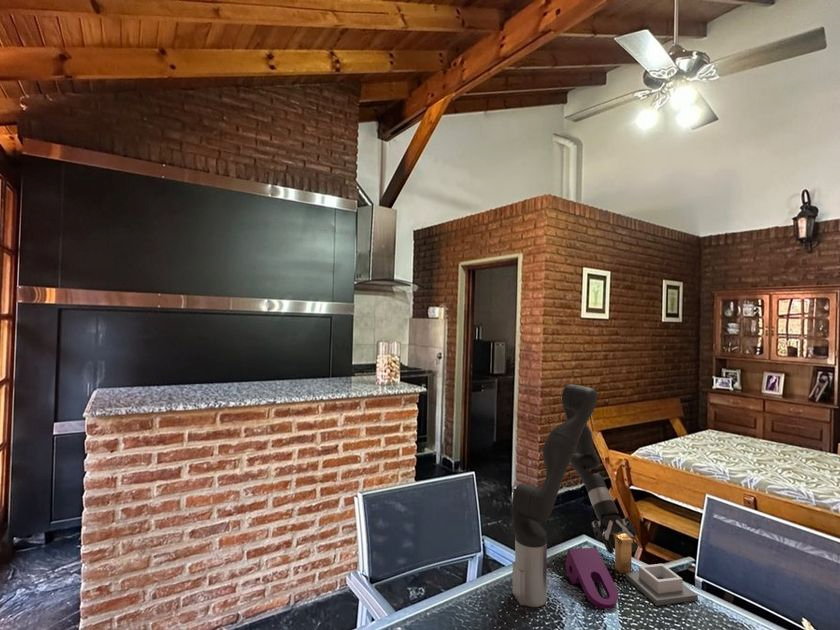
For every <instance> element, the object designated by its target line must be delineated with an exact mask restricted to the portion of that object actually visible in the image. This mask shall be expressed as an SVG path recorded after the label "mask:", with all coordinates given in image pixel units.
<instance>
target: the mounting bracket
mask: <svg viewBox="0 0 840 630" xmlns="http://www.w3.org/2000/svg"><path fill="white" fill-rule="evenodd" d="M565 570H566V575H567V577H568V580H570V582H571V583H572V584H574V585H576V584H577V585H578V584H580V585H581V587H582V591H583V593H584V594H585V597H586V598H587V600H588V601H590V603H591V604H593V605H594V606H595V607H597V608H599V609H605V610H606V609H607V610H608V609H609V610H610V609H613V608H614V607H615V606H616V605H617V603H618V600H619V594H620V593H619V591H618V588H617V586H616V583H615V582H614V579H613V578H612V576H611V574H610V572H609V570H608V568H607V566H606V563H605V562H604V560H603V559H602V556H601V554H600V551H598V548H597V547H581V548H579V547H578V548H568V549H567V554H566V558H565ZM595 583H600V585H601V587H602V589H603V591H604V594H605V596H606V597H607V598H603V597H602V596H601V595H600V592H599V591H598V588H597V587H596V585H595Z"/></svg>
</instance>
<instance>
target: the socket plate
mask: <svg viewBox="0 0 840 630" xmlns="http://www.w3.org/2000/svg"><path fill="white" fill-rule="evenodd" d="M625 579H626V580H628V581H629V582H630V583H631V584H632V585H633V586H634V588H637V590H639V591H640V592H641V593H642V594H644V596H645V597H647V599H649V600H650V601H651V602H652V603H653V604H654V605H656V606H663V605H671V604H678V603H686V602H693V601H694V602H695V601H699V597H698V596H699V595H698V594H697V593H696V592H694V591H693V590H692V589H690V588H689V587H688V586H686V585H685V584H684V583H683V578H682V577H681V576H679V575H678V574H677V573H676V572H674V571H672V570H671V569H670V568H669V567H667V566H666V565H665V564H664V563H657V564H656V563H655V564H647V565H638V571H634V572H632V571H631V572H629V573H625Z"/></svg>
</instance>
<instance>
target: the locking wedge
mask: <svg viewBox="0 0 840 630" xmlns="http://www.w3.org/2000/svg"><path fill="white" fill-rule="evenodd" d="M613 538H614V570H616V571H617V572H618V573H620V574H626V573H631V572H632V550H631V543H633V539H632V538H630V537H629V536H628V535H626V534H625V533H617V534H616V533H613Z"/></svg>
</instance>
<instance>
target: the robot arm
mask: <svg viewBox="0 0 840 630" xmlns="http://www.w3.org/2000/svg"><path fill="white" fill-rule="evenodd" d="M597 403H598V393H597V391H596V390H595V389H594V388H592V387H587V386H583V385H578V384H572V383H571V384H570V383H568V384H566V385H565V386H564V388H563V390H562V393H561V404H562V408H563V410H564V413H565V417H566V421H563V422H562V423H560V424H559V425H557V426H555V427H554V428H553V429H552V430H551V431H550V432H549V433H548V436H547V437H546V440H545V441H544V444H543V446H542V459H543V462H544V463H543V464H544V467H545V474H546V475H545V479H544V482H543V485H542V487H537V486H535V485H531V484H528V483H519V484H518V485H516V487H515V489H514V490H513V494H512V507H511V508H512V524H513V525H512V526H513V532H514V536H515V537H514V539H515V541H514V543H515V545H514V546H515V547H514V548H515V549H514V551H515V552H514V554H515V555H514V557H515V558H514V560H515V561H513V562H512V594H513V596H514V598H515V599H516V600H517V602H518V604H519V605H520V606H527V607H532V608H537V607H538V608H539V607H542V606H543V605H546V603H547V599H548V598H547V597H548V596H547V595H548V592H547V589H548V587H547V581H548V579H547V568H548V567H547V566H548V563H547V561H548V560H547V555H548V554H547V552H548V549H547V548H548V547H547V545H548V544H547V542H548V539H547V537H548V535H547V532H546V530H545V529H544V528H543V527H542V526H541V525H540V524H539V523H544V522H546V521H547V520H548V519H549V518H550V516H551V514H552V511H553V508H554V506H555V504H556V500H557V497H558V494H559V491H560V487H561V485H562V481H563V479H564V476H565V474H566V472H567V470H568V466H569V465H571V467H572V468H573V470H574V471H575V472H576V474H577V475H578V476H579V478H580V479H581V481H582V483H583V485H584V487H585V489H586V491H587V493H588V494H587V495H588V497H589V501H590V503H591V505H592V508H593V511H594V513H595V515H596V518H597V519H594V521H592V522H591V527H592V529H593V530H592V531H593V533H594V535H595V539H596V540H597V541H598V542H600V541H601V542H602V543H603V544H604V546H605V549H606V552H607V553H608V554H609V555H612V554H615V549H614V547H613V545H612V543H611V540H610V535H614V534H620V533H625V534H626V535H628V536H629V537H630V538H632V539H633V543H631V552H636V551H637V549H638V546H637V543H636V541H635V539H634V538H635V537H637V535H638V532H637V530H636V528H635V527H634V525H633V522H632V520H631V519H630V517H629V516H628V517H627V516H626V517H625V518H621V516H620V514H619V510H618V508H617V506H616V503H615V501H614V498H613V497H612V495H611V493H610V491H609V490H608V488H607V485H606V483H605V481H604V478H603V476H602V475H601V474H600V473H597V472H596V473H595V472H589V471H591V470H595V469H598V467H599V466H600V464H601V461H600V457H599V456H598V454H597V452H596V451H595V448H594V447H595V446H594V441H593V434H592V432H591V430H590V428H589V426H588V425H587V423H588V421H589V419H590V418H591V416H592V414H593V413H594V410H595V408H596V405H597ZM600 527H601V528H602V529H603V531H602V530H601V528H600Z"/></svg>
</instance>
